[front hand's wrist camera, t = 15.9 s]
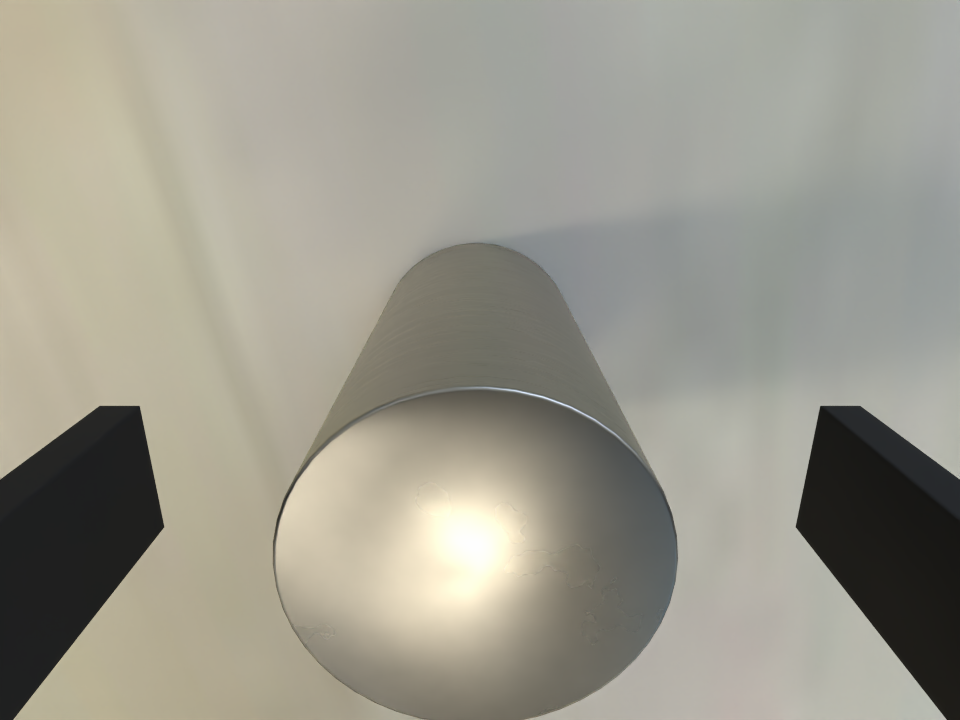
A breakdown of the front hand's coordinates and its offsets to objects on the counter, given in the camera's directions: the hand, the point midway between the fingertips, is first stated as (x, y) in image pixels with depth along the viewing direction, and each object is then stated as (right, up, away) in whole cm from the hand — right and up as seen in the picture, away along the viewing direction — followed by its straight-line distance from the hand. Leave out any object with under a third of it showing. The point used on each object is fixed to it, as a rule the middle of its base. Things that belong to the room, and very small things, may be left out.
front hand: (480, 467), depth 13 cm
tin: (0, +3, +9) cm, 9 cm away
